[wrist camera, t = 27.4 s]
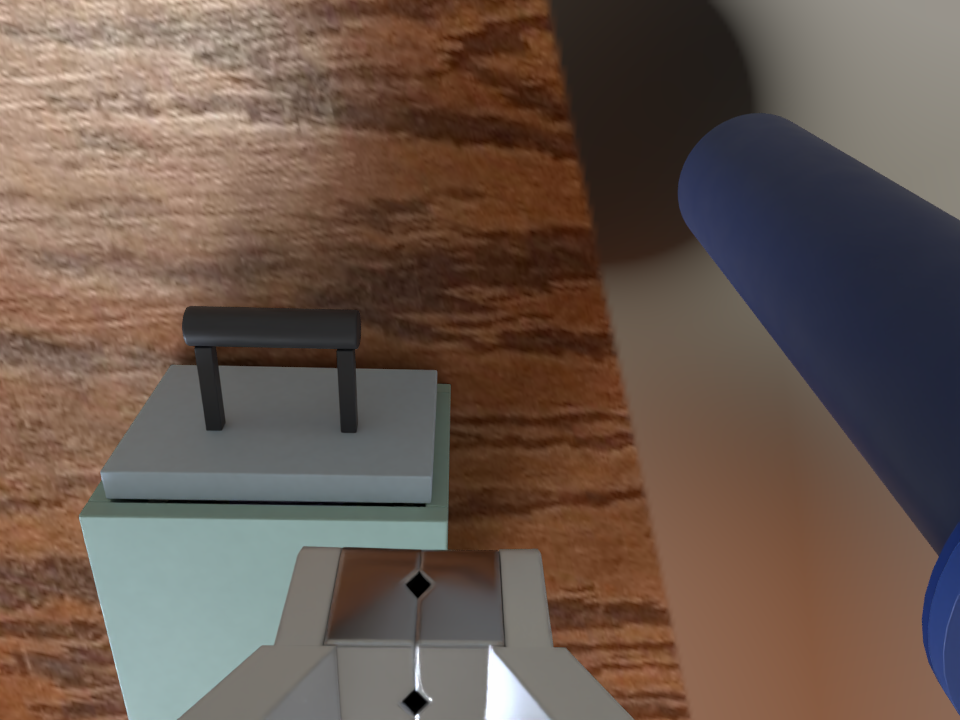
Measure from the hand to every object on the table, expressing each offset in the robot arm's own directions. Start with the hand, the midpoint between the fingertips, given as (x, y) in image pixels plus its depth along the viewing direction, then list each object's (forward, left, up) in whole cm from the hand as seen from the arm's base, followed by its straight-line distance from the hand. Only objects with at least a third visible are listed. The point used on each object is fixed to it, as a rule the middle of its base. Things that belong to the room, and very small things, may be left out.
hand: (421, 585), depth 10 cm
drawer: (+6, +14, -23) cm, 28 cm away
